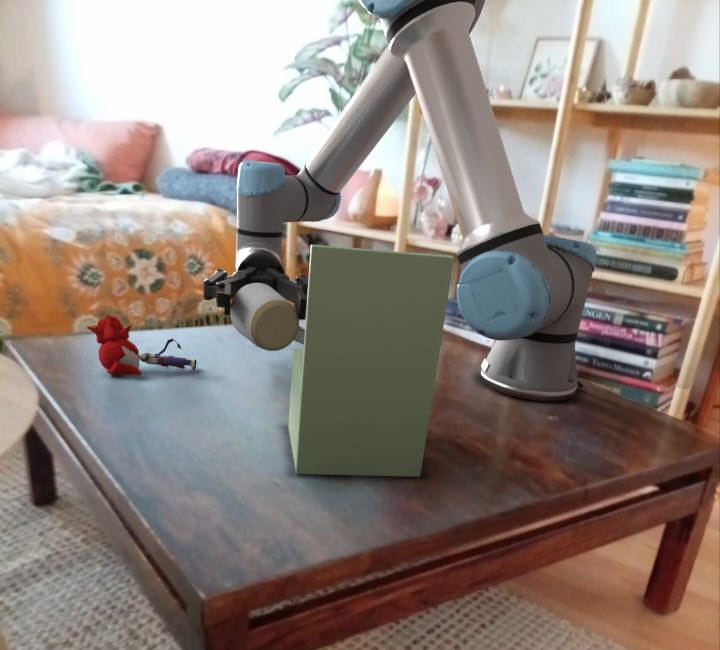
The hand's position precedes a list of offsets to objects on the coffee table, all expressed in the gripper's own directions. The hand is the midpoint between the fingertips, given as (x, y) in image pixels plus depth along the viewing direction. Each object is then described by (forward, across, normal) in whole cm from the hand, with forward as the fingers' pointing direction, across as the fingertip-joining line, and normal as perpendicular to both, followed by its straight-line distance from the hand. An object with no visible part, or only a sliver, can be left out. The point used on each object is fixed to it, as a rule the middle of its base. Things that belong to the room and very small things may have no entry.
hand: (265, 306), depth 91 cm
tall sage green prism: (+16, -10, -13) cm, 23 cm away
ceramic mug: (-4, -1, -6) cm, 7 cm away
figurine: (-12, +17, -10) cm, 23 cm away
